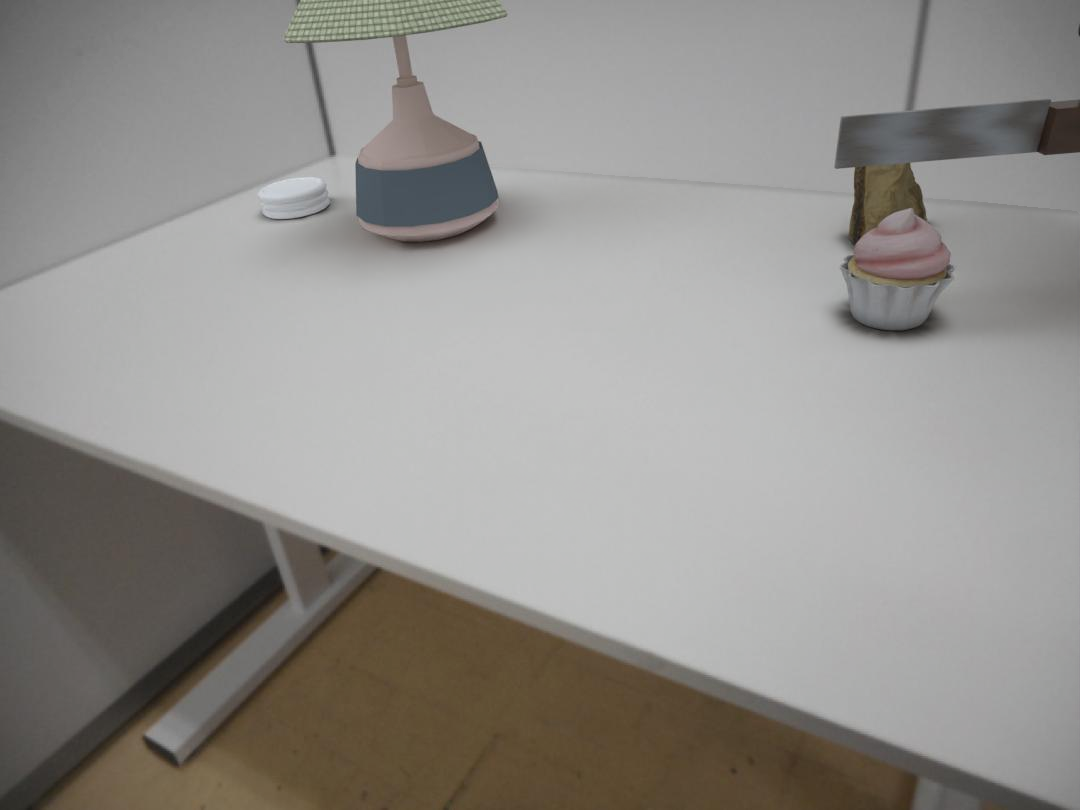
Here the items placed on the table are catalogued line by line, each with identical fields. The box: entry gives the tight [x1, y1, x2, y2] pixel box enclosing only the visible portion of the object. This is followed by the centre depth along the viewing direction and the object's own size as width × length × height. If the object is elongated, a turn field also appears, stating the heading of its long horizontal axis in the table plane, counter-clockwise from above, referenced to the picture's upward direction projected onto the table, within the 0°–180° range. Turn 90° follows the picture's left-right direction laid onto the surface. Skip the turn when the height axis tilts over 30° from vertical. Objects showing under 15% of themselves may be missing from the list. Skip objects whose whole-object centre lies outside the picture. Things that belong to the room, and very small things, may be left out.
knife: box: [833, 98, 1080, 170], centre depth 59 cm, size 26×2×4 cm, turn 90°
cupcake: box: [838, 208, 957, 331], centre depth 65 cm, size 9×9×10 cm
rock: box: [848, 163, 928, 246], centre depth 81 cm, size 11×9×10 cm
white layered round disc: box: [257, 176, 331, 220], centre depth 111 cm, size 10×10×4 cm
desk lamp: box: [282, 0, 509, 243], centre depth 89 cm, size 26×28×42 cm
